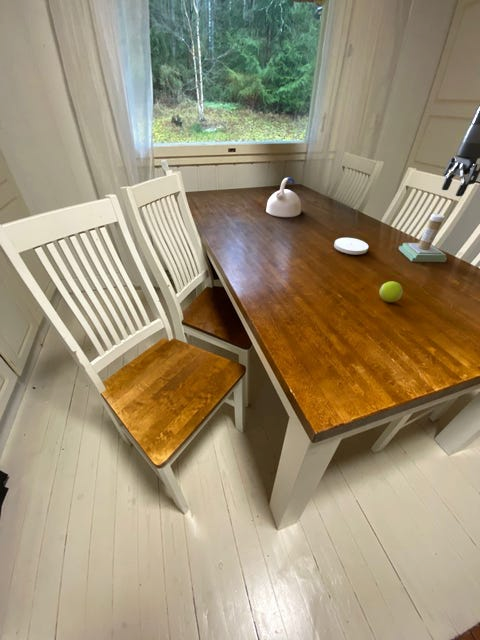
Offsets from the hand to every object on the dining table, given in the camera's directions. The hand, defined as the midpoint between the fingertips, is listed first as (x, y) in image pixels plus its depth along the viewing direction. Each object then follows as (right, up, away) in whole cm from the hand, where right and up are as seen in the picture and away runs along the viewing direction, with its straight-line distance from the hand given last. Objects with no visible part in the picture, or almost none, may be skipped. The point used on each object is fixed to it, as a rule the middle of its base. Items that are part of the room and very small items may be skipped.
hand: (451, 192), depth 101 cm
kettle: (-53, +16, +59) cm, 81 cm away
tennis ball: (-30, -41, -11) cm, 52 cm away
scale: (-1, -19, +16) cm, 25 cm away
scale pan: (-1, -18, +15) cm, 23 cm away
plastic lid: (-30, -16, +19) cm, 39 cm away
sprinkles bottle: (-1, -17, +14) cm, 22 cm away
